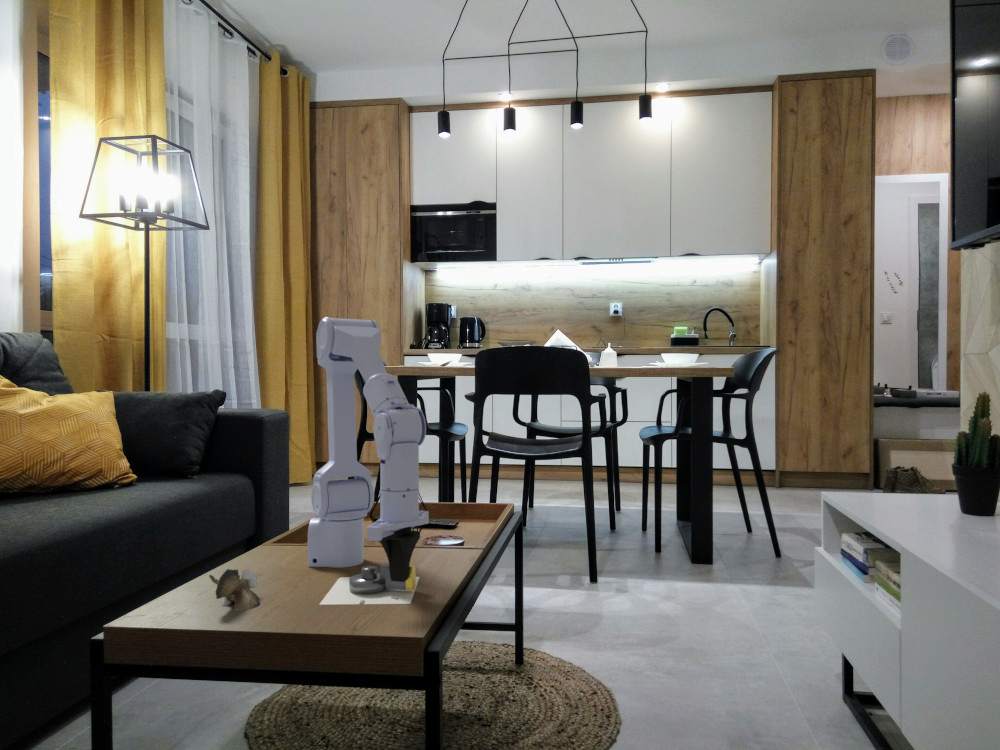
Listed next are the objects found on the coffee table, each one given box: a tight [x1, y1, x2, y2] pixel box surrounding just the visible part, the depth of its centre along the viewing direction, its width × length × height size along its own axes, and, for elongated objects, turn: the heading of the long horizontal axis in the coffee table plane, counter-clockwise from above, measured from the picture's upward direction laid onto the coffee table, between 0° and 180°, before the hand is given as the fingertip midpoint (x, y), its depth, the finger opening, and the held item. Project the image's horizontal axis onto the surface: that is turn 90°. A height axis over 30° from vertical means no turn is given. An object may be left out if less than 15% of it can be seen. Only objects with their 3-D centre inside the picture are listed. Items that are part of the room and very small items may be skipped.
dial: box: [349, 562, 417, 594], centre depth 105 cm, size 10×6×4 cm, turn 79°
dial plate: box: [318, 576, 420, 606], centre depth 106 cm, size 13×14×1 cm
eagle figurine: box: [208, 568, 261, 612], centre depth 99 cm, size 8×7×9 cm
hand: (399, 580), depth 103 cm, fingers closed, pressing on dial
